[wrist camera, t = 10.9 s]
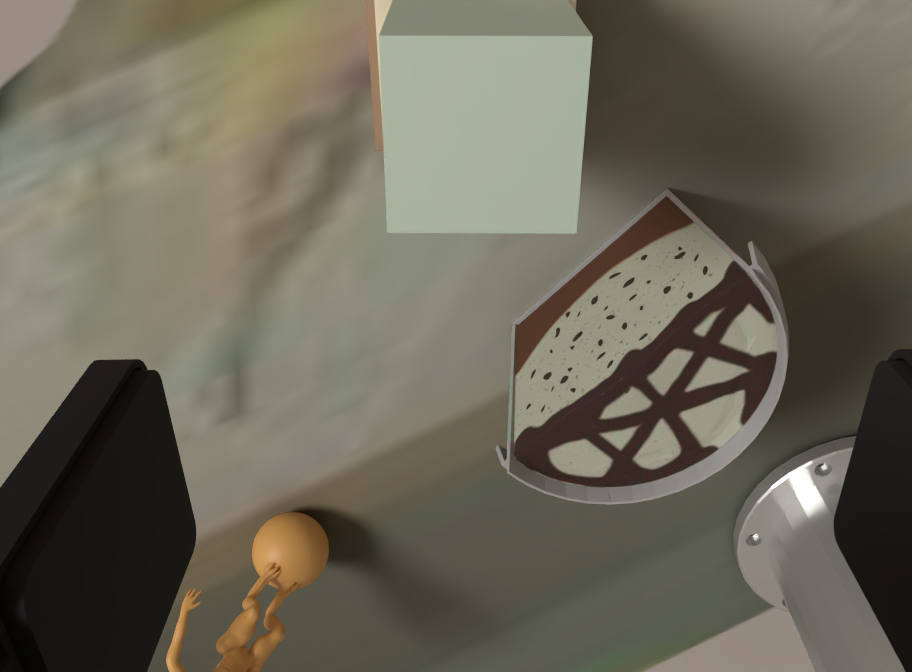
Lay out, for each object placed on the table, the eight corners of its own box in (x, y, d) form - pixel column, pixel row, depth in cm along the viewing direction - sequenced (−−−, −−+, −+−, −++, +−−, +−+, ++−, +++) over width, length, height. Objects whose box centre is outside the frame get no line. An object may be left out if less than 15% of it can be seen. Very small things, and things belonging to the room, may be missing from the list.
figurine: (371, 554, 47) (346, 755, 37) (289, 597, 49) (243, 800, 38) (275, 458, 43) (217, 650, 33) (190, 507, 45) (110, 704, 35)
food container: (575, 416, 42) (605, 563, 33) (489, 343, 40) (497, 481, 31) (780, 255, 37) (875, 378, 29) (694, 163, 35) (770, 266, 27)
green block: (564, -6, 25) (592, 36, 19) (553, 158, 27) (576, 233, 22) (394, -6, 25) (378, 35, 19) (400, 158, 27) (387, 233, 22)
